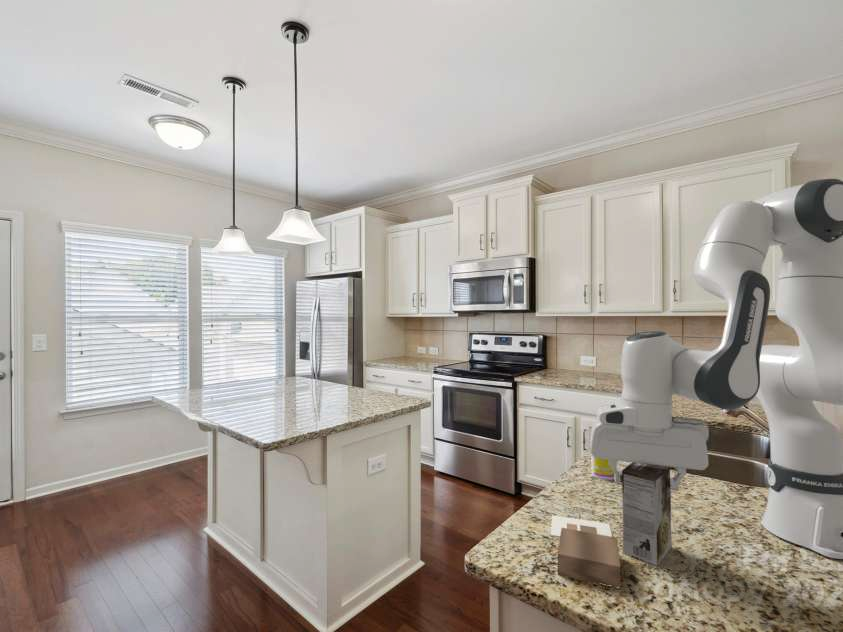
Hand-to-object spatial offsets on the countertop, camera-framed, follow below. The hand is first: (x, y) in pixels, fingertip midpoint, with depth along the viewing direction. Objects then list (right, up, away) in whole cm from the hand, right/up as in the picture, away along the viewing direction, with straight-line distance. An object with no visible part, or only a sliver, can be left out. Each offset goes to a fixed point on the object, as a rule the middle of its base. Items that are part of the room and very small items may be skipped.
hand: (645, 485), depth 80 cm
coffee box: (0, -13, 0) cm, 13 cm away
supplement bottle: (+8, -13, +37) cm, 41 cm away
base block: (-13, -13, -5) cm, 19 cm away
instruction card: (-10, -13, +8) cm, 18 cm away
